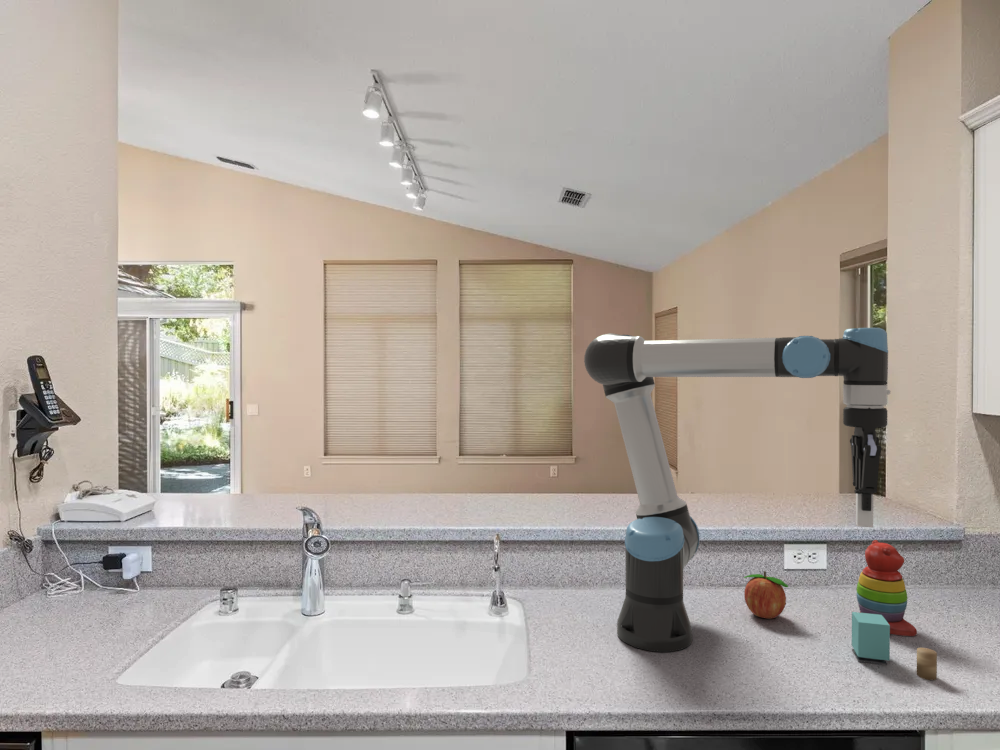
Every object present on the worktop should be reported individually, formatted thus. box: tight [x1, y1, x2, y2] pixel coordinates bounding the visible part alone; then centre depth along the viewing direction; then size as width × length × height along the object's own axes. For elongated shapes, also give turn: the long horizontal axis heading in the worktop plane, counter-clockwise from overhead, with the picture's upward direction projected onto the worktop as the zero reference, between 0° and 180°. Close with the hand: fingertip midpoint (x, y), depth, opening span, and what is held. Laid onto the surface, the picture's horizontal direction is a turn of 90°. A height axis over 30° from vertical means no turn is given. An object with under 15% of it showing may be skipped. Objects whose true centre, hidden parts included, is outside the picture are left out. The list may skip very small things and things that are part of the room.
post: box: [851, 648, 888, 666], centre depth 120 cm, size 5×5×7 cm
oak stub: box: [916, 647, 938, 681], centre depth 113 cm, size 3×3×4 cm
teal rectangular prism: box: [851, 611, 891, 661], centre depth 120 cm, size 5×5×7 cm
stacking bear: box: [856, 539, 918, 637], centre depth 135 cm, size 11×10×18 cm
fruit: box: [743, 570, 789, 619], centre depth 140 cm, size 9×10×10 cm
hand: (864, 525), depth 123 cm, fingers closed
